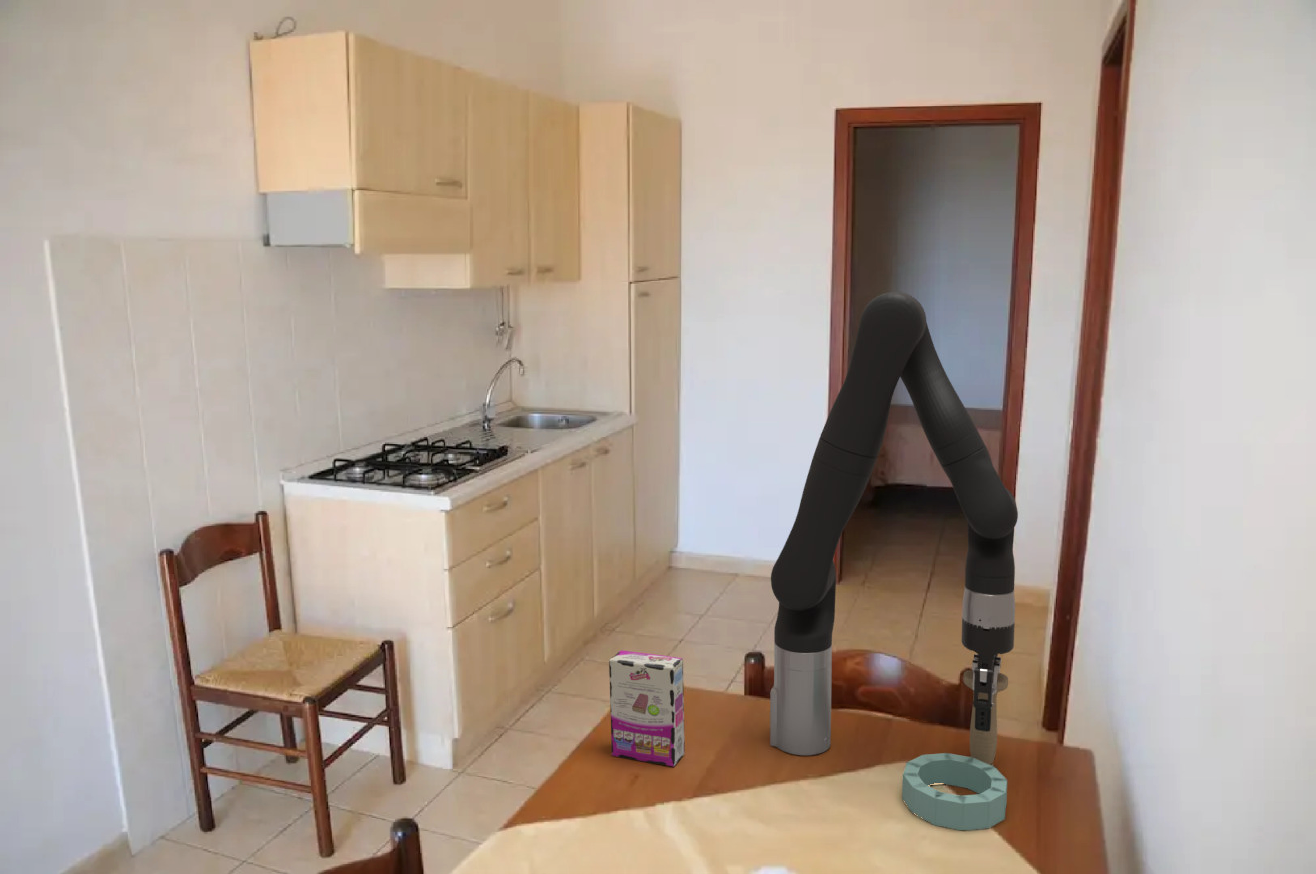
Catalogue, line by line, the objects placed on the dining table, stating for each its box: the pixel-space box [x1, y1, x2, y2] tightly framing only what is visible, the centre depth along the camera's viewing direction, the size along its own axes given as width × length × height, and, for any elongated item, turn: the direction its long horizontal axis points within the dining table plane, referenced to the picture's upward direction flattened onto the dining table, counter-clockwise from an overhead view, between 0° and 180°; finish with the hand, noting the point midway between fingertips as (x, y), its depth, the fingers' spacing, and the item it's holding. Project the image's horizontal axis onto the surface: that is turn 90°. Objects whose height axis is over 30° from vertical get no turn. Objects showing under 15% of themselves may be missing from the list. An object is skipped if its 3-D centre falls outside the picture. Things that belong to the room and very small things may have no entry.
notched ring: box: [901, 752, 1008, 831], centre depth 137 cm, size 14×14×4 cm
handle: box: [963, 669, 1009, 767], centre depth 146 cm, size 5×6×15 cm
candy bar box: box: [608, 649, 686, 767], centre depth 151 cm, size 11×5×16 cm, turn 68°
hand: (984, 718), depth 145 cm, fingers open, 8 cm apart
